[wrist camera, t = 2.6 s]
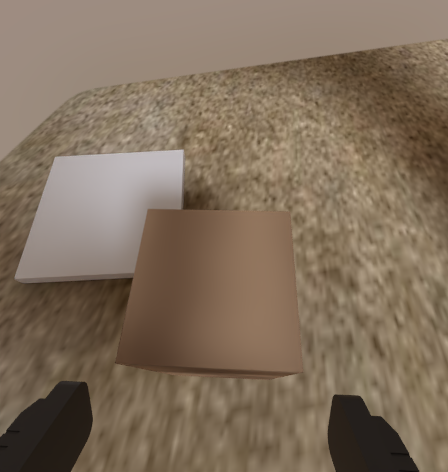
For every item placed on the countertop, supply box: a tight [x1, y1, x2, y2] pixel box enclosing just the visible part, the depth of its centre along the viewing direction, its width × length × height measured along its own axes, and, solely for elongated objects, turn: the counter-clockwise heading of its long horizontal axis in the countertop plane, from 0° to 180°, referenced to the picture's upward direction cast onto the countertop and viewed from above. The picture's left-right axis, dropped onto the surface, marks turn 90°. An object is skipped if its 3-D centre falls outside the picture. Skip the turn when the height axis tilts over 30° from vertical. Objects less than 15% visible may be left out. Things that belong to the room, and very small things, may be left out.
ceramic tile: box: [14, 150, 185, 283], centre depth 23 cm, size 12×12×1 cm
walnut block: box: [115, 209, 303, 380], centre depth 15 cm, size 6×6×10 cm
